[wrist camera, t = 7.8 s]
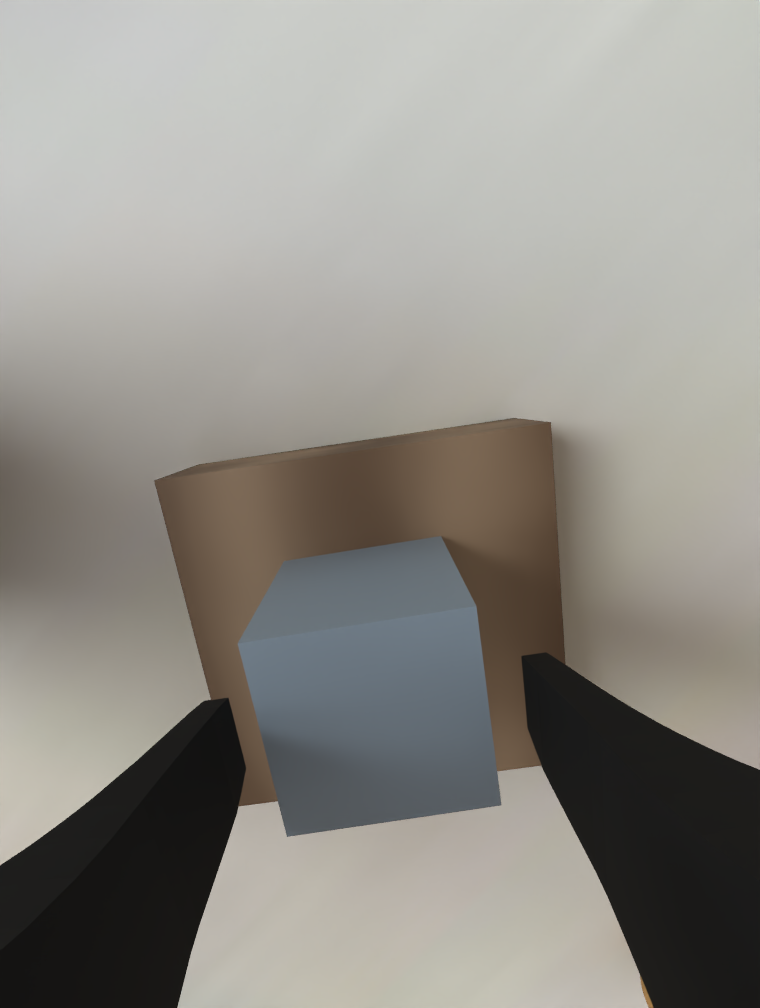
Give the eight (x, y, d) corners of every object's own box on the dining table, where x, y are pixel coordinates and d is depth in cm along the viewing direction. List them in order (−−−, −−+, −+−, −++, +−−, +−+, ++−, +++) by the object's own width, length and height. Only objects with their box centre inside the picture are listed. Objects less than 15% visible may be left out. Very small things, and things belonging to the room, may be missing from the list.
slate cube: (314, 699, 15) (286, 836, 11) (283, 561, 14) (237, 643, 9) (460, 676, 15) (501, 805, 10) (440, 535, 14) (476, 606, 9)
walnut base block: (264, 728, 20) (238, 806, 16) (202, 463, 18) (154, 480, 14) (532, 691, 20) (570, 761, 16) (510, 417, 17) (550, 422, 13)
